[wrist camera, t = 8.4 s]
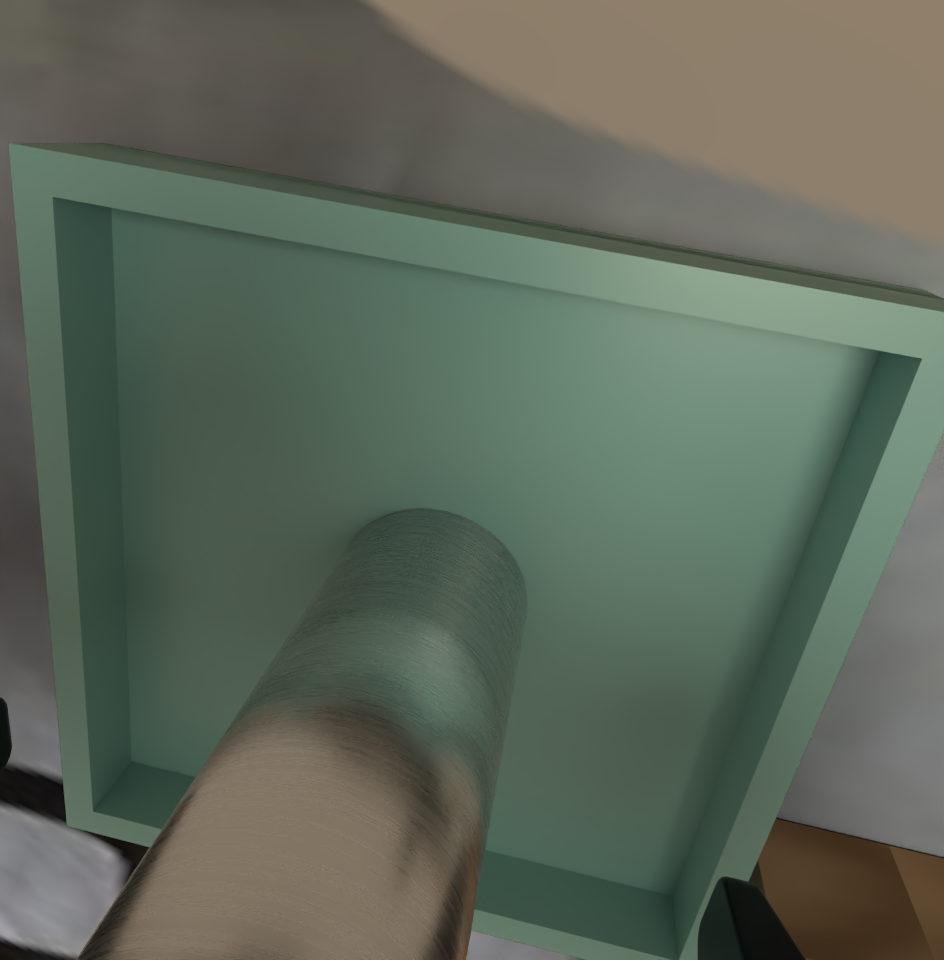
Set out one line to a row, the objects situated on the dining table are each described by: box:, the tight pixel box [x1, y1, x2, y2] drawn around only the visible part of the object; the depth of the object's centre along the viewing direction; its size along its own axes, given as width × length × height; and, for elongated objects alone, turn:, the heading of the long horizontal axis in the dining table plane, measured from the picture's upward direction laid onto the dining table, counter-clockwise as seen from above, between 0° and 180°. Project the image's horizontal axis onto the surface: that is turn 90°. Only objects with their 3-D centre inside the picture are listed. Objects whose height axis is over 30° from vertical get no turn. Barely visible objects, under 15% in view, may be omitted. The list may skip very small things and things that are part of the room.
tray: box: [9, 143, 944, 960], centre depth 14 cm, size 13×13×2 cm
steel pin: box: [76, 508, 528, 960], centre depth 10 cm, size 5×5×10 cm
